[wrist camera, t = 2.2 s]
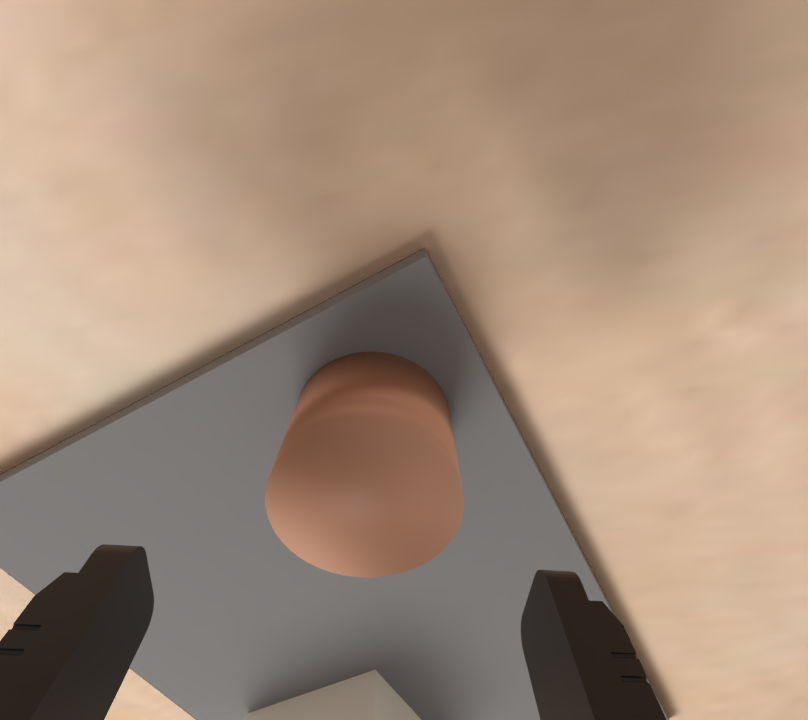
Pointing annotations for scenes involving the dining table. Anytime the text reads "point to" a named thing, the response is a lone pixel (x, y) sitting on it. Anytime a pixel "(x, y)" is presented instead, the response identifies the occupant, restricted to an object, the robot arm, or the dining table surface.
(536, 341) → the dining table surface
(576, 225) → the dining table surface
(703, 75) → the dining table surface
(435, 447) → the terracotta cylinder
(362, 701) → the tower base block
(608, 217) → the dining table surface
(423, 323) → the mat
